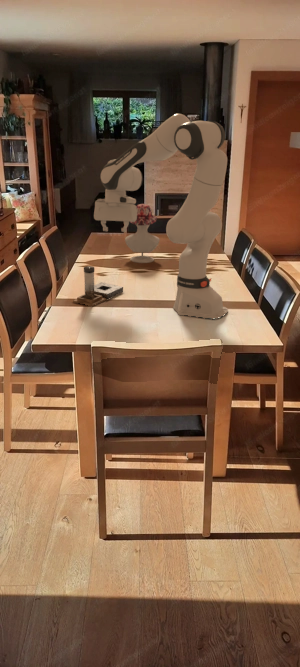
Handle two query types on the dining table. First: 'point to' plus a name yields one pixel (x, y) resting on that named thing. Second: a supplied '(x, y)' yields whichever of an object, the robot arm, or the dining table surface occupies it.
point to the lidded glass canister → (89, 282)
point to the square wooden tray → (89, 302)
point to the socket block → (107, 290)
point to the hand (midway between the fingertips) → (114, 231)
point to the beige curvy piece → (142, 235)
